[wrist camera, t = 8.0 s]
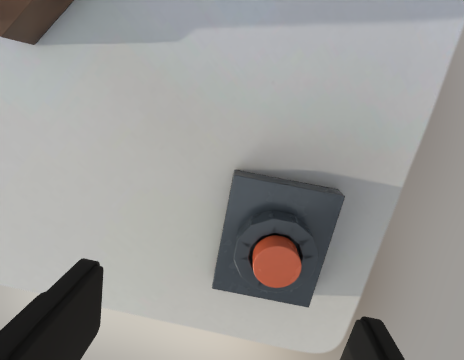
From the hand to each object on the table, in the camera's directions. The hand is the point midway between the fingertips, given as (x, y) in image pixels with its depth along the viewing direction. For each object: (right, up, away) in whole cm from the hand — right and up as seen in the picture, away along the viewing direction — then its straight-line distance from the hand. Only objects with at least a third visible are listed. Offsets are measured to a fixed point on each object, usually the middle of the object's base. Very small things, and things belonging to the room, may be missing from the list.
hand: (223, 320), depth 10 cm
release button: (+4, -1, +12) cm, 13 cm away
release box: (+4, 0, +15) cm, 16 cm away
